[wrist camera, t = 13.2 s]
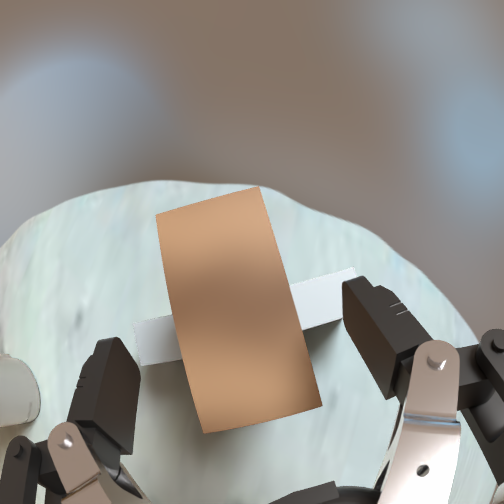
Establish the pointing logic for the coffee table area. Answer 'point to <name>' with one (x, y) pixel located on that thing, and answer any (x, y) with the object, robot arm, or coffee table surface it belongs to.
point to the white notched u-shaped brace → (305, 299)
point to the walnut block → (235, 313)
